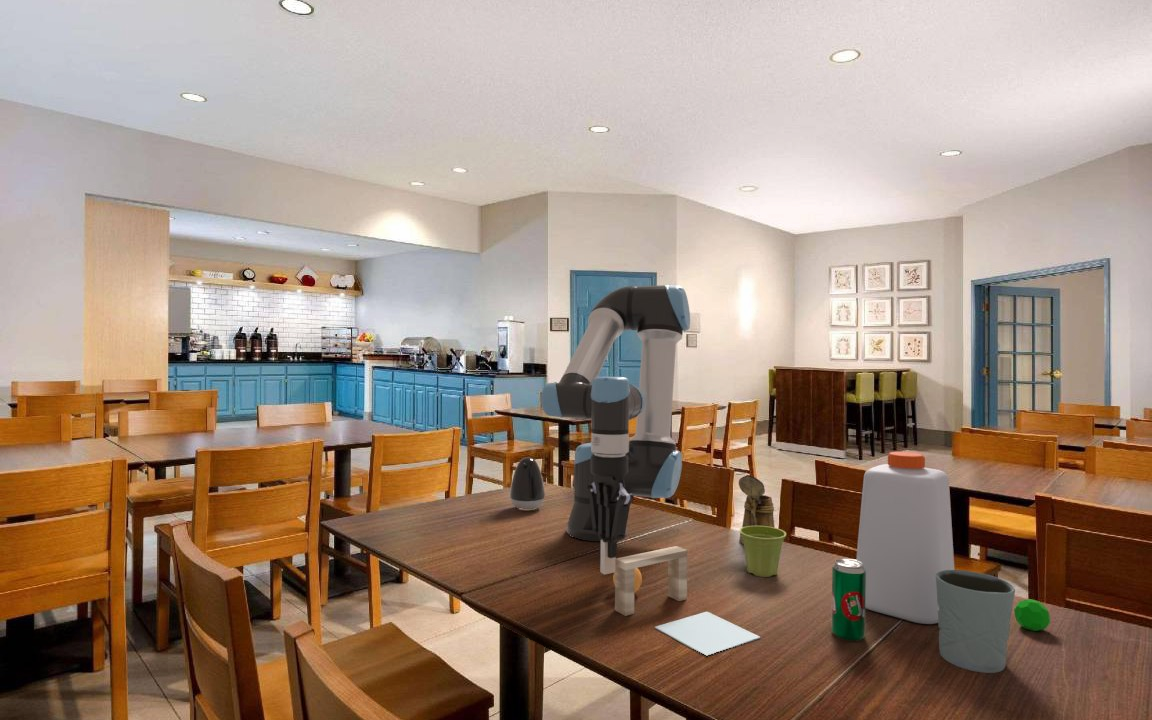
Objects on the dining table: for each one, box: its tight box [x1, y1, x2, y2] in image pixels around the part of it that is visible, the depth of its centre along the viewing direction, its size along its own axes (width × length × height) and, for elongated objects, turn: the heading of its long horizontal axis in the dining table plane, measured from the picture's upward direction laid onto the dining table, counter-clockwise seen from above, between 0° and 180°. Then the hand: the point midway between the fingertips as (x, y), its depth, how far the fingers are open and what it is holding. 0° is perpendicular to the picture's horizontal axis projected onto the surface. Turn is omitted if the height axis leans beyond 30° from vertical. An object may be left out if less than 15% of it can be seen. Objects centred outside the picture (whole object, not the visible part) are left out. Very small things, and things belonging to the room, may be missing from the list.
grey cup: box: [936, 569, 1016, 674], centre depth 97 cm, size 10×10×12 cm
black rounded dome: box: [509, 457, 546, 509], centre depth 187 cm, size 10×10×15 cm
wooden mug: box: [738, 474, 776, 545], centre depth 154 cm, size 9×14×18 cm, turn 148°
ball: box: [612, 567, 643, 593], centre depth 122 cm, size 6×6×6 cm
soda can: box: [830, 558, 866, 642], centre depth 105 cm, size 5×5×12 cm
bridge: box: [614, 545, 688, 617], centre depth 117 cm, size 3×14×9 cm, turn 123°
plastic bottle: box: [855, 451, 955, 625], centre depth 117 cm, size 15×15×28 cm
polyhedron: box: [1013, 598, 1051, 632], centre depth 108 cm, size 5×5×5 cm
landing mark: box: [654, 611, 761, 657], centre depth 105 cm, size 12×12×1 cm
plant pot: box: [739, 526, 787, 578], centre depth 135 cm, size 9×9×9 cm
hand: (608, 572), depth 128 cm, fingers closed
